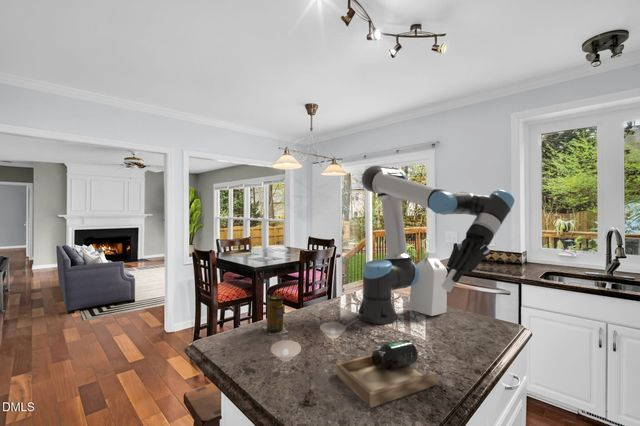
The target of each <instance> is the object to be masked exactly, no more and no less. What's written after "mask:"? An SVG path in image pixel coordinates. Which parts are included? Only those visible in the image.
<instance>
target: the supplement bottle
mask: <svg viewBox="0 0 640 426" xmlns="http://www.w3.org/2000/svg"><path fill="white" fill-rule="evenodd" d="M417 350H418V349H417V348H416V346H415V344H414V343H413V342H412V341H411V340H409V339H403V340H399V341H394V342H390V343H385V344H383V345H382V346H380V348H379V349H377V350H374V351H372V354H371V355H372V362H373V364H374V366H375V367H376V368H377V369H378V370H381V369H386V370H389V371H393V370H396V369H400V368H403V367H407V366H410V367H411V366H414V365H415V364H416V363H417V362H418V357H419V356H418V355H419V354H418V351H417Z"/></svg>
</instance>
